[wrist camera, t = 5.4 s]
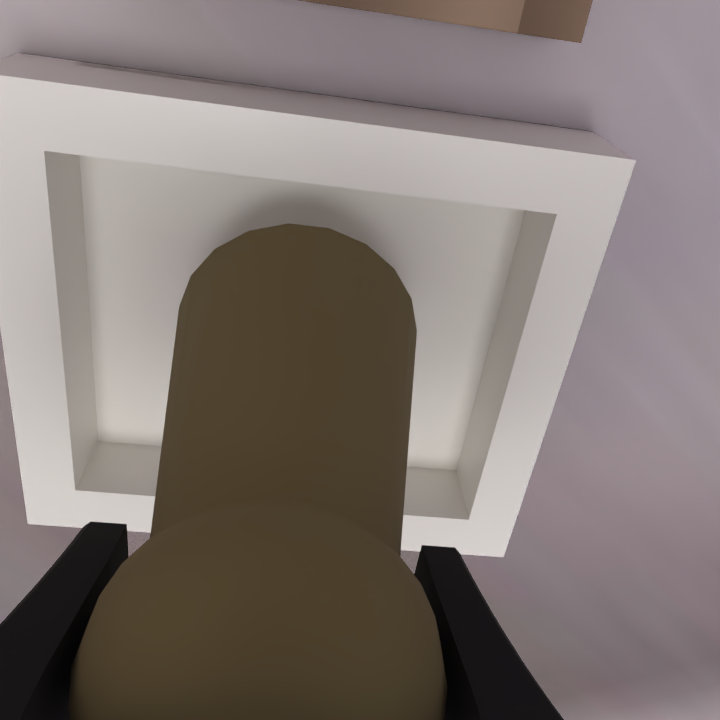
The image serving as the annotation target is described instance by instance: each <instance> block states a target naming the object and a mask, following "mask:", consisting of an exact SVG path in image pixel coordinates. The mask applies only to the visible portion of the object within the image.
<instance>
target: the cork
mask: <svg viewBox="0 0 720 720" xmlns="http://www.w3.org/2000/svg"><path fill="white" fill-rule="evenodd" d="M416 337H417V328H416V322H415V316H414V310H413V304H412V298H411V297H410V295H409V293H408V291H407V290H406V288H405V286H404V285H403V283H402V281H401V279H400V278H399V276H398V274H397V272H396V271H395V269H394V268H393V267H392V266H391V265H390V264H388V263H387V262H386V261H385V260H384V259H383V258H382V257H380V256H379V255H378V254H377V253H376V252H375V251H373V250H372V249H371V248H370V247H369V246H368V245H367V244H365V243H363V242H360V241H358V240H356V239H353V238H351V237H349V236H346V235H344V234H342V233H339V232H337V231H335V230H332V229H330V228H324V227H315V226H306V225H298V224H289V223H288V224H282V225H277V226H272V227H266V228H261V229H255V230H250V231H247V232H245V233H243V234H242V235H240V236H238V237H236V238H234V239H232V240H230V241H229V242H227V243H225V244H223V245H221V246H219V247H218V248H216V249H214V250H213V251H212V253H211V254H210V255H209V256H208V257H207V258H206V259H205V260H204V261H203V263H202V264H201V265H200V266H199V267H198V268H197V269H196V270H195V271H194V273H193V274H192V275H191V277H190V279H189V282H188V284H187V287H186V290H185V292H184V295H183V298H182V300H181V303H180V306H179V311H178V319H177V327H176V335H175V343H174V351H173V359H172V367H171V375H170V383H169V391H168V399H167V407H166V415H165V423H164V431H163V439H162V447H161V455H160V463H159V470H158V478H157V486H156V494H155V502H154V510H153V518H152V526H151V534H150V539H149V540H147V541H146V542H145V543H144V544H143V545H142V546H141V547H140V548H139V549H137V550H136V551H135V552H134V553H133V554H132V555H131V556H130V557H128V558H127V559H126V560H125V561H124V562H123V563H122V564H121V565H120V567H119V568H118V570H117V571H116V572H115V574H114V575H113V577H112V578H111V580H110V581H109V582H108V584H107V585H106V587H105V588H104V590H103V591H102V592H101V594H100V595H99V598H98V600H97V603H96V605H95V607H94V610H93V612H92V615H91V617H90V619H89V622H88V624H87V627H86V629H85V632H84V635H83V637H82V640H81V643H80V645H79V648H78V651H77V654H76V656H75V659H74V662H73V664H72V667H71V678H70V690H69V703H68V711H69V717H70V720H444V715H445V706H446V698H447V689H448V687H447V680H446V673H445V667H444V660H443V653H442V647H441V642H440V638H439V633H438V628H437V623H436V618H435V615H434V612H433V610H432V608H431V606H430V603H429V601H428V599H427V596H426V594H425V592H424V589H423V587H422V585H421V583H420V582H419V580H418V579H417V578H416V577H415V575H414V574H413V573H412V571H411V570H410V569H409V568H408V566H407V565H406V564H405V562H404V561H403V560H402V559H401V557H400V552H401V539H402V525H403V512H404V499H405V485H406V472H407V458H408V445H409V431H410V418H411V404H412V391H413V377H414V364H415V350H416Z"/></svg>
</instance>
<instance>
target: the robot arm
mask: <svg viewBox="0 0 720 720" xmlns="http://www.w3.org/2000/svg"><path fill="white" fill-rule="evenodd" d="M127 558H128V540H127V524H119V523H105V522H89V523H88V524H86V525H85V526H84V527H83V528H82V529H81V531H80V532H79V533H78V535H77V536H76V537H75V539H74V540H73V541H72V542H71V544H70V545H69V546H68V547H67V549H66V550H65V551H64V552H63V553H62V555H61V556H60V557H59V558H58V560H57V561H56V562H55V563H54V564H53V566H52V567H51V568H50V569H49V570H48V571H47V573H46V574H45V575H44V576H43V577H42V578H41V580H40V581H39V582H38V583H37V584H36V585H35V587H34V588H33V589H32V590H31V591H30V592H29V593H28V594H27V595H26V596H25V598H24V599H23V600H22V601H21V602H20V603H19V604H18V605H17V606H16V608H15V609H14V610H13V611H12V612H11V613H10V614H9V615H8V616H7V617H6V619H5V620H4V621H3V622H2V623H1V624H0V720H70V717H69V711H68V703H69V690H70V678H71V667H72V664H73V662H74V659H75V656H76V654H77V651H78V648H79V645H80V643H81V640H82V637H83V635H84V632H85V629H86V627H87V624H88V622H89V619H90V617H91V615H92V612H93V610H94V607H95V605H96V603H97V600H98V598H99V595H100V594H101V592H102V591H103V590H104V588H105V587H106V585H107V584H108V582H109V581H110V580H111V578H112V577H113V575H114V574H115V572H116V571H117V570H118V568H119V567H120V565H121V564H122V563H123V562H124V561H125V560H126V559H127ZM414 575H415V577H416V578H417V579H418V580H419V582H420V583H421V585H422V587H423V589H424V592H425V594H426V596H427V599H428V601H429V603H430V606H431V608H432V610H433V612H434V615H435V618H436V623H437V628H438V633H439V638H440V642H441V647H442V653H443V660H444V667H445V673H446V680H447V687H448V689H447V698H446V706H445V715H444V720H564V719H563V718H562V717H561V715H560V714H559V713H558V711H557V710H556V709H555V707H554V706H553V705H552V703H551V702H550V700H549V699H548V698H547V696H546V695H545V693H544V692H543V690H542V689H541V688H540V686H539V685H538V683H537V682H536V680H535V679H534V678H533V676H532V675H531V673H530V672H529V670H528V669H527V667H526V666H525V664H524V663H523V661H522V660H521V658H520V657H519V655H518V653H517V652H516V650H515V649H514V647H513V645H512V644H511V642H510V641H509V639H508V638H507V636H506V634H505V633H504V631H503V630H502V628H501V626H500V625H499V623H498V621H497V620H496V618H495V616H494V615H493V613H492V611H491V610H490V608H489V606H488V604H487V603H486V601H485V599H484V597H483V596H482V594H481V592H480V590H479V589H478V587H477V585H476V583H475V581H474V579H473V578H472V576H471V574H470V572H469V570H468V568H467V566H466V564H465V563H464V561H463V559H462V557H461V555H460V553H459V552H458V550H457V549H456V548H455V547H442V546H428V545H422V546H421V550H420V554H419V558H418V562H417V566H416V570H415V574H414Z"/></svg>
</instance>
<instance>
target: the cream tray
mask: <svg viewBox="0 0 720 720" xmlns="http://www.w3.org/2000/svg"><path fill="white" fill-rule="evenodd" d="M635 163H636V160H635V159H634V158H632V157H631V156H629V155H628V154H626V153H625V152H623V151H622V150H620V149H619V148H617V147H616V146H614V145H613V144H611V143H610V142H608V141H607V140H605V139H604V138H602V137H601V136H599V135H598V134H596V133H595V132H591V131H584V130H577V129H569V128H562V127H555V126H548V125H540V124H533V123H526V122H518V121H511V120H504V119H496V118H489V117H482V116H475V115H467V114H460V113H453V112H445V111H438V110H431V109H424V108H416V107H409V106H402V105H394V104H387V103H380V102H373V101H365V100H358V99H351V98H343V97H336V96H329V95H321V94H314V93H307V92H300V91H292V90H285V89H278V88H270V87H263V86H256V85H249V84H241V83H234V82H227V81H219V80H212V79H205V78H197V77H190V76H183V75H176V74H168V73H161V72H154V71H146V70H139V69H132V68H125V67H117V66H110V65H103V64H95V63H88V62H81V61H73V60H66V59H59V58H52V57H44V56H37V55H30V54H22V53H17V54H14V55H11V56H8V57H5V58H1V59H0V329H1V337H2V344H3V351H4V358H5V365H6V372H7V379H8V386H9V393H10V400H11V408H12V415H13V422H14V429H15V436H16V443H17V450H18V457H19V464H20V471H21V478H22V486H23V493H24V500H25V507H26V514H27V521H28V524H35V525H50V526H64V527H79V528H83V527H84V526H85V525H86V524H88V523H89V522H105V523H119V524H127V531H136V532H150V533H151V526H152V518H153V510H154V502H155V494H156V486H157V478H158V470H159V463H160V455H161V447H162V439H163V431H164V423H165V415H166V407H167V399H168V391H169V383H170V375H171V367H172V359H173V351H174V343H175V335H176V327H177V319H178V311H179V306H180V303H181V300H182V298H183V295H184V292H185V290H186V287H187V284H188V282H189V279H190V277H191V275H192V274H193V273H194V271H195V270H196V269H197V268H198V267H199V266H200V265H201V264H202V263H203V261H204V260H205V259H206V258H207V257H208V256H209V255H210V254H211V253H212V251H213V250H214V249H216V248H218V247H219V246H221V245H223V244H225V243H227V242H229V241H230V240H232V239H234V238H236V237H238V236H240V235H242V234H243V233H245V232H247V231H250V230H255V229H261V228H266V227H272V226H277V225H282V224H288V223H289V224H298V225H306V226H315V227H324V228H330V229H332V230H335V231H337V232H339V233H342V234H344V235H346V236H349V237H351V238H353V239H356V240H358V241H360V242H363V243H365V244H367V245H368V246H369V247H370V248H371V249H372V250H373V251H375V252H376V253H377V254H378V255H379V256H380V257H382V258H383V259H384V260H385V261H386V262H387V263H388V264H390V265H391V266H392V267H393V268H394V269H395V271H396V272H397V274H398V276H399V278H400V279H401V281H402V283H403V285H404V286H405V288H406V290H407V291H408V293H409V295H410V297H411V298H412V304H413V310H414V316H415V322H416V328H417V337H416V350H415V364H414V377H413V391H412V404H411V418H410V431H409V445H408V458H407V472H406V485H405V499H404V512H403V525H402V539H401V550H408V551H420V550H421V546H422V545H428V546H442V547H455V548H456V549H457V550H458V552H459V553H460V554H465V555H480V556H494V557H504V554H505V551H506V548H507V545H508V542H509V539H510V536H511V533H512V530H513V527H514V524H515V521H516V518H517V515H518V512H519V509H520V506H521V503H522V500H523V497H524V494H525V491H526V488H527V485H528V482H529V479H530V476H531V473H532V470H533V467H534V464H535V462H536V459H537V456H538V453H539V450H540V447H541V444H542V441H543V438H544V435H545V432H546V429H547V426H548V423H549V420H550V417H551V414H552V411H553V408H554V405H555V402H556V399H557V396H558V393H559V390H560V387H561V384H562V381H563V378H564V375H565V372H566V369H567V366H568V363H569V360H570V357H571V354H572V351H573V348H574V345H575V342H576V339H577V336H578V333H579V330H580V327H581V324H582V321H583V318H584V315H585V312H586V309H587V306H588V303H589V300H590V297H591V294H592V291H593V288H594V285H595V282H596V279H597V276H598V273H599V270H600V267H601V264H602V261H603V258H604V255H605V252H606V249H607V246H608V243H609V240H610V237H611V234H612V231H613V228H614V225H615V222H616V219H617V216H618V213H619V210H620V207H621V204H622V201H623V198H624V195H625V192H626V189H627V186H628V183H629V180H630V177H631V174H632V171H633V168H634V166H635Z"/></svg>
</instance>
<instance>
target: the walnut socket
mask: <svg viewBox="0 0 720 720" xmlns="http://www.w3.org/2000/svg"><path fill="white" fill-rule="evenodd" d="M300 1H306V2H313V3H319V4H326V5H333V6H339V7H346V8H353V9H359V10H366V11H373V12H379V13H386V14H392V15H399V16H406V17H412V18H419V19H426V20H432V21H439V22H446V23H452V24H459V25H465V26H472V27H479V28H485V29H492V30H499V31H505V32H512V33H519V34H525V35H532V36H538V37H545V38H552V39H558V40H565V41H572V42H578V43H581V41H582V37H583V34H584V30H585V26H586V23H587V19H588V15H589V12H590V8H591V4H592V1H593V0H300Z"/></svg>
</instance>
